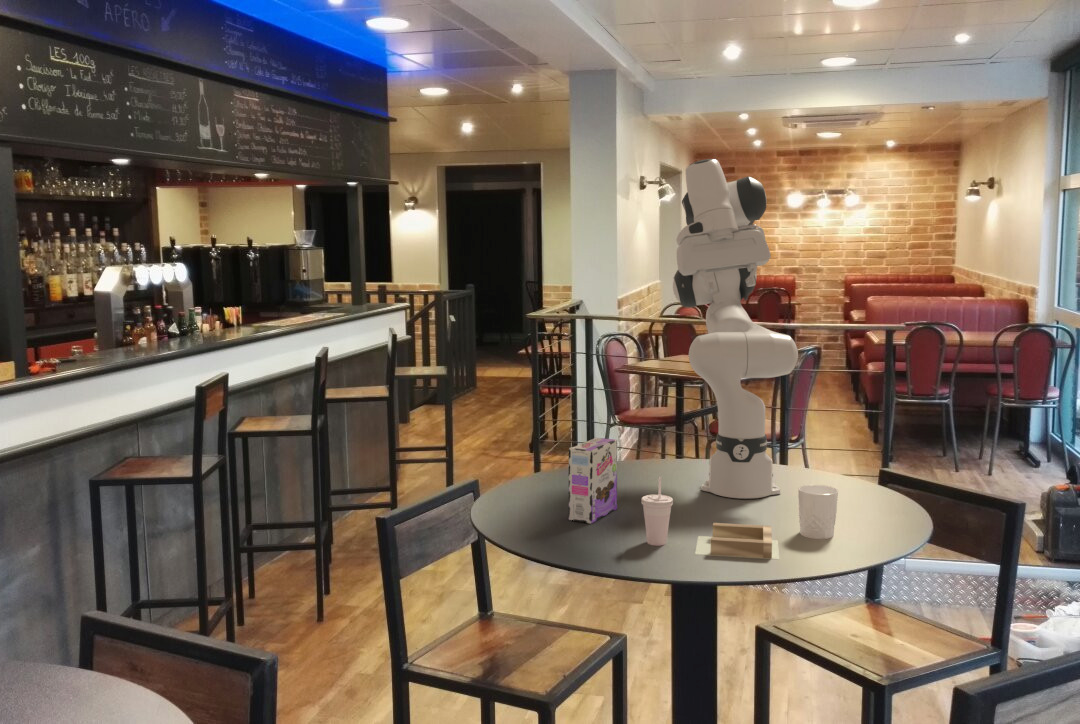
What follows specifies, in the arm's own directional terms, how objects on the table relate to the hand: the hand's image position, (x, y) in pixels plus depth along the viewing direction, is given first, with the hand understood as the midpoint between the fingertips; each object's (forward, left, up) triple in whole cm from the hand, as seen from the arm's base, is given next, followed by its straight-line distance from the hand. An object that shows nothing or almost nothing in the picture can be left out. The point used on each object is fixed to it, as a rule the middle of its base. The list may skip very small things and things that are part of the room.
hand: (730, 288), depth 215 cm
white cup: (+10, +19, -51) cm, 55 cm away
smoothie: (+22, -13, -51) cm, 57 cm away
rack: (+22, +3, -50) cm, 55 cm away
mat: (+22, +3, -51) cm, 55 cm away
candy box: (+3, -29, -51) cm, 59 cm away
